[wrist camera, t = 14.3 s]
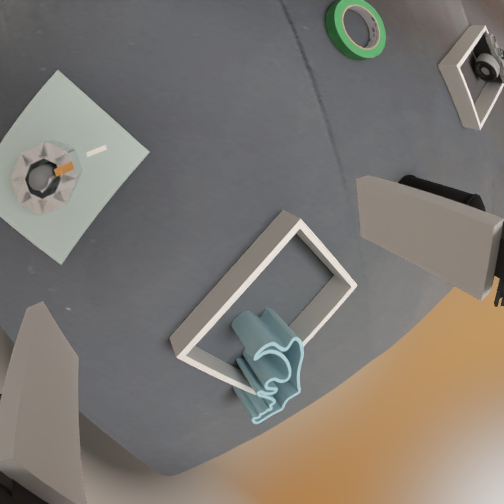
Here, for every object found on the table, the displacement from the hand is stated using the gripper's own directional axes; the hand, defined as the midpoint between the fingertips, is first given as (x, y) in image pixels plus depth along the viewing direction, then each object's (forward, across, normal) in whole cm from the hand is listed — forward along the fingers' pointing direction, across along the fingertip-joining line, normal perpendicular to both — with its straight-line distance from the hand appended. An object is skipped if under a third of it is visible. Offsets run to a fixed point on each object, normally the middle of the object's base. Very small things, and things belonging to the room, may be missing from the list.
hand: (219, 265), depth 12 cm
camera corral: (+31, +75, +6) cm, 81 cm away
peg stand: (+31, -11, +4) cm, 33 cm away
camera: (+31, +81, +10) cm, 87 cm away
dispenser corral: (+31, +10, -26) cm, 42 cm away
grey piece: (+29, -11, +4) cm, 31 cm away
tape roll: (+31, +37, +14) cm, 50 cm away
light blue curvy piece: (+31, +7, -35) cm, 48 cm away
